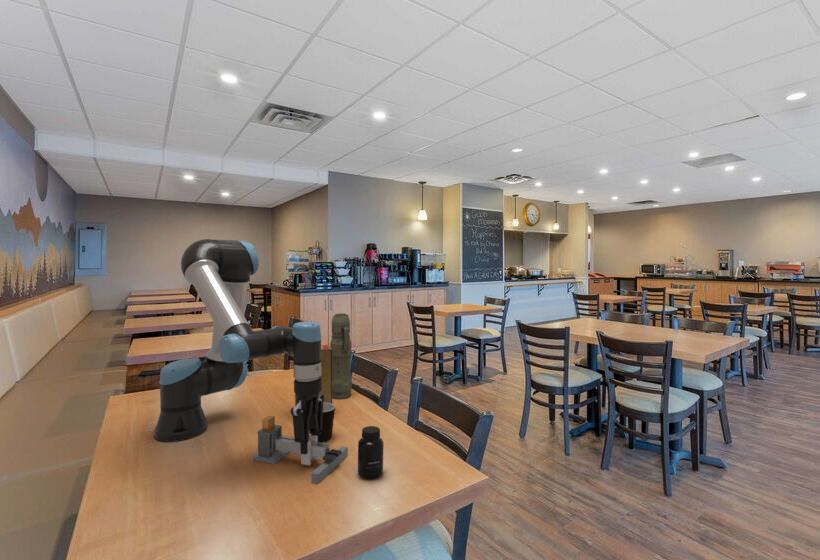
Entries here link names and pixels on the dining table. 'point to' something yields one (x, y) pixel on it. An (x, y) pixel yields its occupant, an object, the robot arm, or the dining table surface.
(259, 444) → the collar
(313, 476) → the stand
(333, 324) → the thermos
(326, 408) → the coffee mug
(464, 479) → the dining table surface
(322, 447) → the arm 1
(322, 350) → the food packaging
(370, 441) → the supplement bottle
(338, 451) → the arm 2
